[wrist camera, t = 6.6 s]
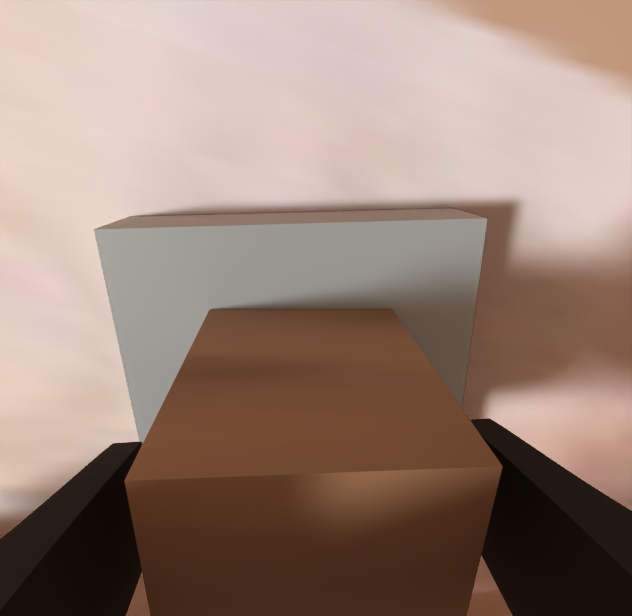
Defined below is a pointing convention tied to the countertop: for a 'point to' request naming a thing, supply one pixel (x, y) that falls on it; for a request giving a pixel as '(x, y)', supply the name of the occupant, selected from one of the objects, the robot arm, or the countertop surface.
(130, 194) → the countertop surface
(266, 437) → the walnut block
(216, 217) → the block
